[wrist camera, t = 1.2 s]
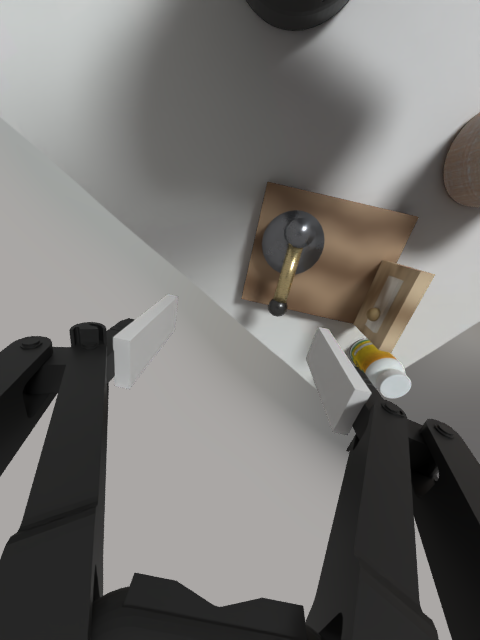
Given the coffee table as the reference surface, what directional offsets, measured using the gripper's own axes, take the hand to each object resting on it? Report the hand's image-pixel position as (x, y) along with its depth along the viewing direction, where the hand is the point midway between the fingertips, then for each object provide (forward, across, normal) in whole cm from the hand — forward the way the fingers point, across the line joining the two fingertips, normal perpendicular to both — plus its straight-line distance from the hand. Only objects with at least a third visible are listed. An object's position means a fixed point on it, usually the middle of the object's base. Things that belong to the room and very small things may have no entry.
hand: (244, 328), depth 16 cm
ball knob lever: (+19, +4, +3) cm, 19 cm away
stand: (+21, +9, +4) cm, 23 cm away
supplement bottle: (+21, +22, -9) cm, 32 cm away
